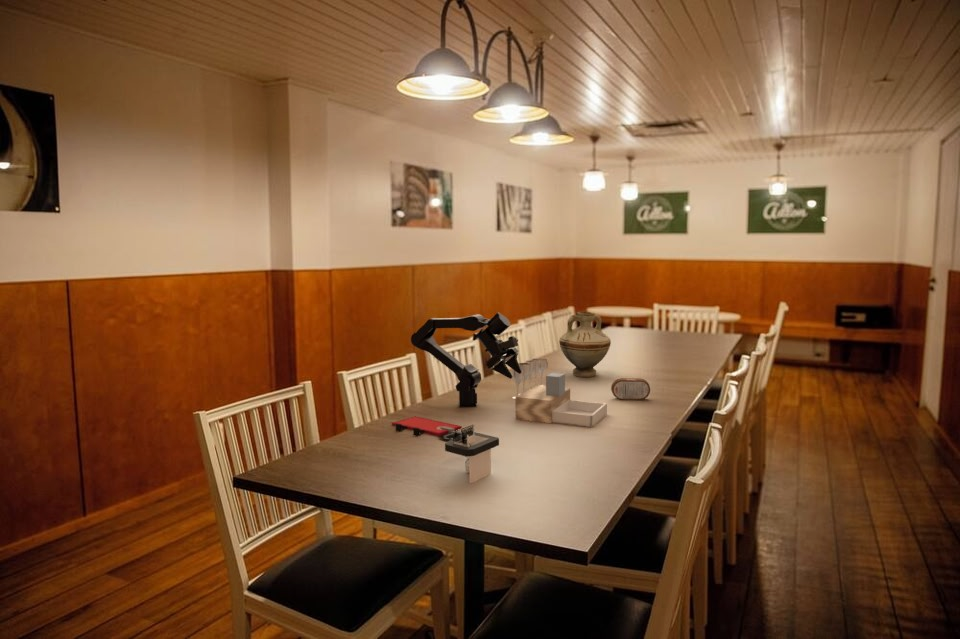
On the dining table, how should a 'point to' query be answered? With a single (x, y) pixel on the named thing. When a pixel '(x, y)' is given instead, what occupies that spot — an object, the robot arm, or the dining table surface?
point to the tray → (579, 413)
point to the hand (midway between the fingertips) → (516, 375)
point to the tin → (630, 389)
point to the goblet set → (529, 371)
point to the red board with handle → (427, 427)
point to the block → (555, 384)
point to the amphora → (584, 344)
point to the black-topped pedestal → (473, 451)
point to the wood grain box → (538, 404)
